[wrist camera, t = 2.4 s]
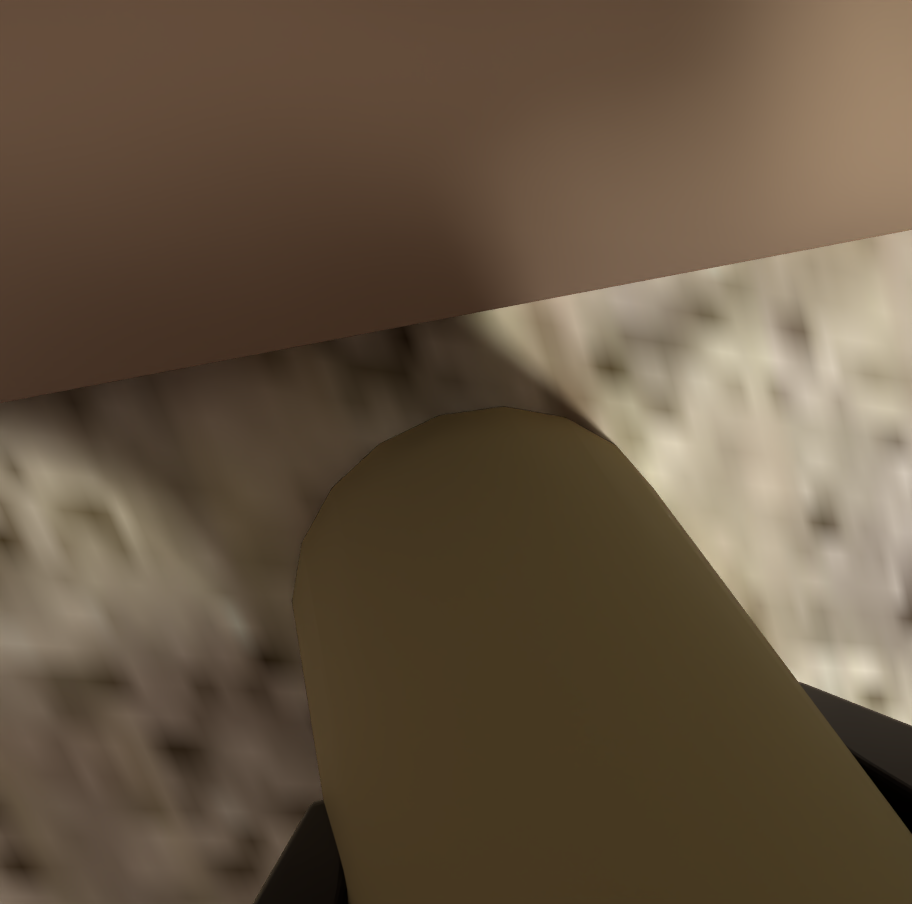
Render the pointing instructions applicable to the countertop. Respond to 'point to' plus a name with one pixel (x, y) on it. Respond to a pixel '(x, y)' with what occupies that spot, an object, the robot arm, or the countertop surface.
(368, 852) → the cork
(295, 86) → the shelf board
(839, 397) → the countertop surface
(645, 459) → the countertop surface
